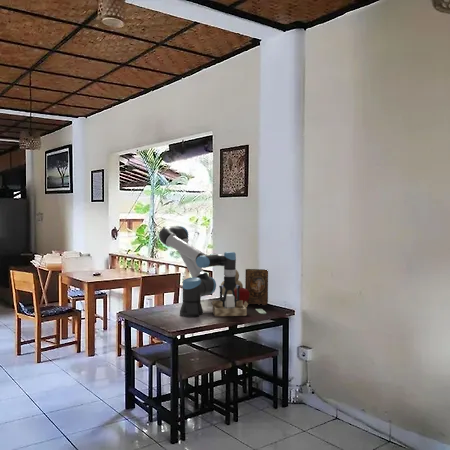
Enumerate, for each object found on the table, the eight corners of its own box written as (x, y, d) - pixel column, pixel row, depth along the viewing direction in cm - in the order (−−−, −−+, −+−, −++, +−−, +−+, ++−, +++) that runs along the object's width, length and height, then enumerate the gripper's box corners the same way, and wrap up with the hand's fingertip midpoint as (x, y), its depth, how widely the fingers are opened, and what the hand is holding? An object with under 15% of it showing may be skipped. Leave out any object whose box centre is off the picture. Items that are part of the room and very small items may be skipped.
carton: (212, 317, 306) (213, 304, 306) (210, 313, 319) (210, 300, 319) (248, 316, 310) (248, 304, 310) (244, 312, 323) (244, 300, 322)
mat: (248, 314, 318) (248, 313, 318) (244, 310, 330) (244, 309, 330) (266, 313, 320) (266, 312, 320) (261, 310, 332) (262, 308, 332)
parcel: (226, 315, 310) (226, 296, 309) (224, 312, 317) (224, 294, 316) (234, 314, 311) (234, 296, 310) (232, 312, 318) (232, 294, 317)
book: (244, 304, 350) (245, 269, 350) (245, 302, 356) (245, 268, 355) (267, 305, 349) (268, 270, 348) (267, 303, 354) (268, 269, 354)
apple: (250, 307, 341) (251, 288, 341) (234, 307, 340) (234, 288, 339) (247, 303, 353) (247, 285, 353) (231, 303, 352) (232, 285, 351)
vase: (247, 301, 361) (247, 261, 360) (229, 304, 351) (229, 262, 350) (233, 298, 374) (234, 259, 373) (215, 300, 364) (216, 260, 363)
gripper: (216, 276, 308) (216, 313, 308) (244, 276, 311) (244, 312, 311) (215, 275, 315) (214, 310, 316) (242, 274, 318) (242, 310, 319)
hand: (229, 311), depth 314 cm, fingers closed on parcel, 5 cm apart
